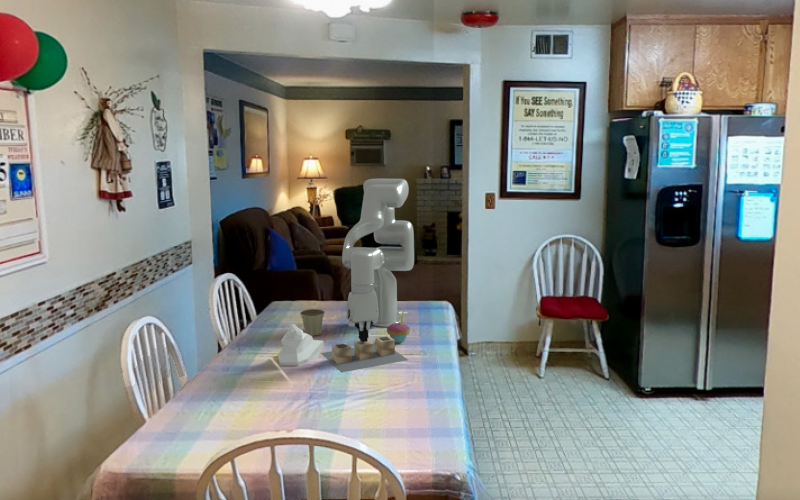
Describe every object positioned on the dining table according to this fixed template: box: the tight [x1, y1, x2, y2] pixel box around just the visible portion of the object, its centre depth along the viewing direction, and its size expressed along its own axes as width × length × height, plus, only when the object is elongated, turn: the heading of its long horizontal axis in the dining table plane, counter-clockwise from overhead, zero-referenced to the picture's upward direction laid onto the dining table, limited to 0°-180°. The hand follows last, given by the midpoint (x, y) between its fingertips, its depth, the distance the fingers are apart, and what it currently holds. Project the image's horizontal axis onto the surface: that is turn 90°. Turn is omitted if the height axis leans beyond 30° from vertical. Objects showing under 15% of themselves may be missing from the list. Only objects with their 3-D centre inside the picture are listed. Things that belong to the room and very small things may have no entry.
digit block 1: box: [331, 342, 352, 364], centre depth 196 cm, size 5×5×5 cm
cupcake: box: [386, 310, 411, 343], centre depth 215 cm, size 9×8×12 cm
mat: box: [320, 343, 409, 373], centre depth 200 cm, size 24×20×1 cm
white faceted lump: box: [277, 323, 325, 366], centre depth 196 cm, size 12×15×14 cm
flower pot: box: [300, 308, 326, 337], centre depth 226 cm, size 9×9×9 cm
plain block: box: [353, 339, 374, 360], centre depth 199 cm, size 5×5×5 cm
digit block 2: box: [375, 335, 396, 356], centre depth 203 cm, size 5×5×5 cm
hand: (363, 340), depth 198 cm, fingers closed
